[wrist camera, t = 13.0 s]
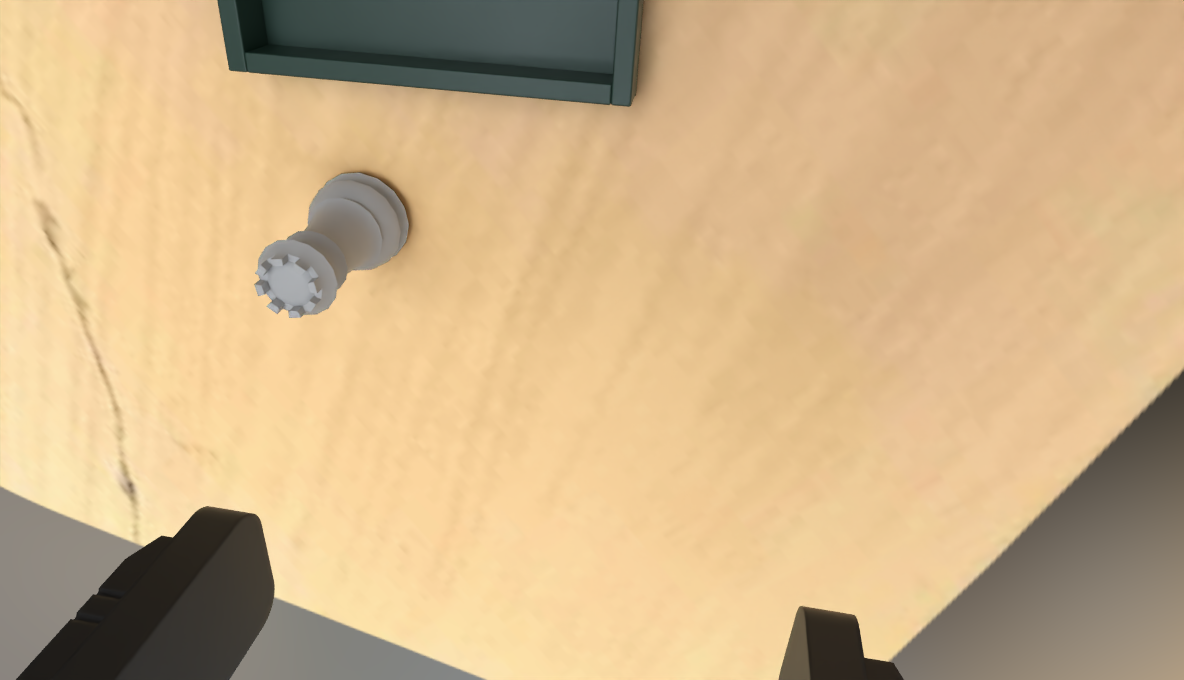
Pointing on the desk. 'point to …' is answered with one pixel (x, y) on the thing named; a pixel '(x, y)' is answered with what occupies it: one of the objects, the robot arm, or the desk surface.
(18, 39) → the desk surface
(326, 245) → the rook chess piece
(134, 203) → the desk surface
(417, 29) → the tray
